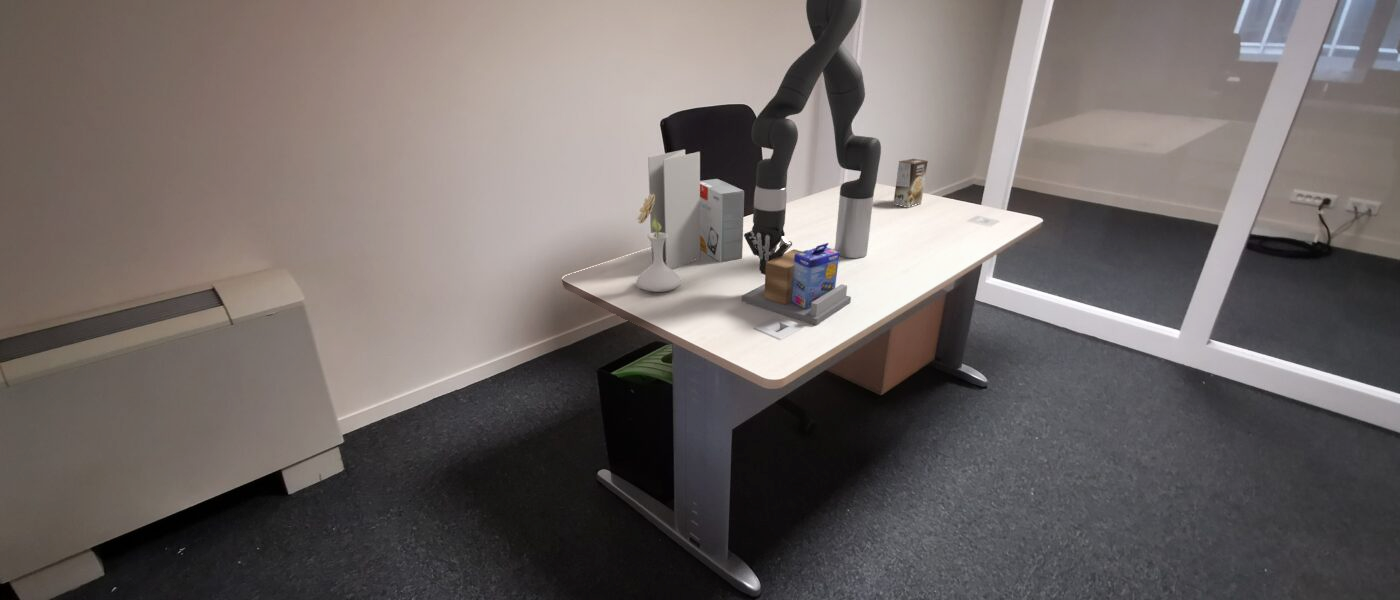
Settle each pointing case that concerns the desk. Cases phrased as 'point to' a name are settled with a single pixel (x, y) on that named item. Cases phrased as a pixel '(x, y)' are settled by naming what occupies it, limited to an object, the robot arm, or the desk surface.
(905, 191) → the coffee box
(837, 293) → the shelf board
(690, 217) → the brochure
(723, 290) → the desk surface
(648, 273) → the flower in vase
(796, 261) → the ink cartridge box
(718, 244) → the hard drive box
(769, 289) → the cardboard box
